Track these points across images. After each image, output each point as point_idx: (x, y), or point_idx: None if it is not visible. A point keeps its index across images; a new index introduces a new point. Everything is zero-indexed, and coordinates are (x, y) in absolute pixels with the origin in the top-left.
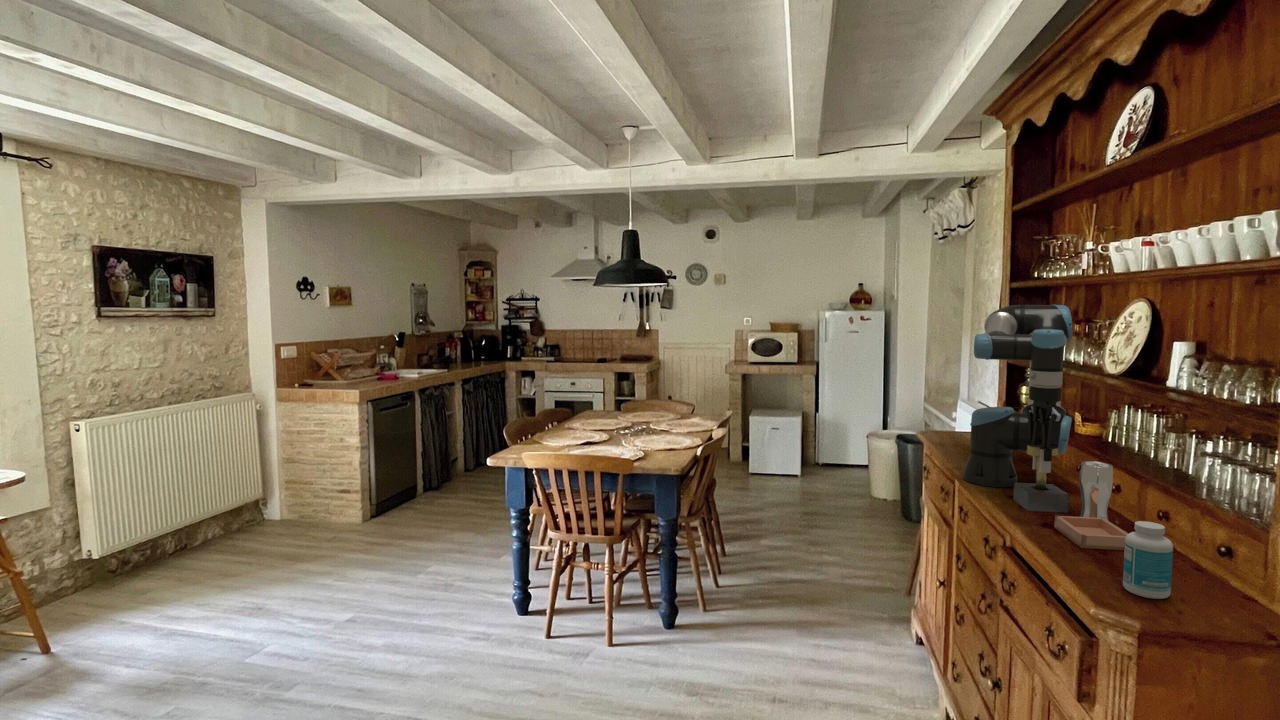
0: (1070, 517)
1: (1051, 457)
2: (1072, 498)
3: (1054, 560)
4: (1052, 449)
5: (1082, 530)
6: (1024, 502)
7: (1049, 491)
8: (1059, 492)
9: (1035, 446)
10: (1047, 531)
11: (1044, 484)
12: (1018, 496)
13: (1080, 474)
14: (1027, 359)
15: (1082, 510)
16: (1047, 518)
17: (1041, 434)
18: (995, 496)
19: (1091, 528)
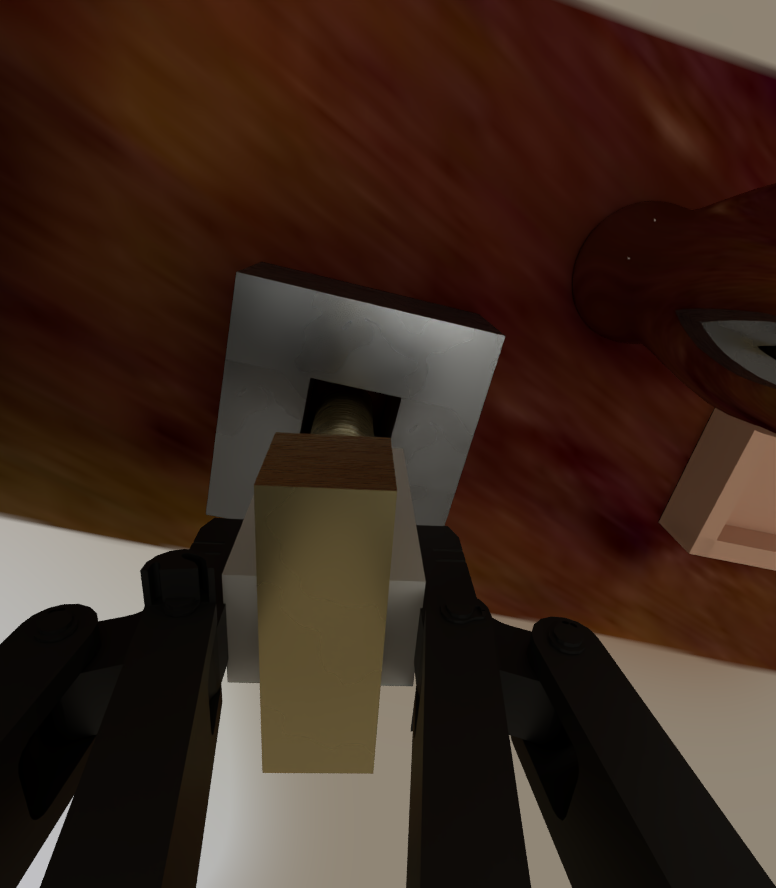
0: (735, 502)
1: (461, 552)
2: (180, 43)
3: None
4: (495, 620)
5: (772, 466)
6: None
7: (423, 419)
8: (453, 369)
9: (337, 729)
10: (690, 574)
11: (372, 434)
12: None
13: (771, 437)
14: None
15: (637, 343)
16: (543, 476)
17: (193, 777)
18: (171, 518)
19: None
